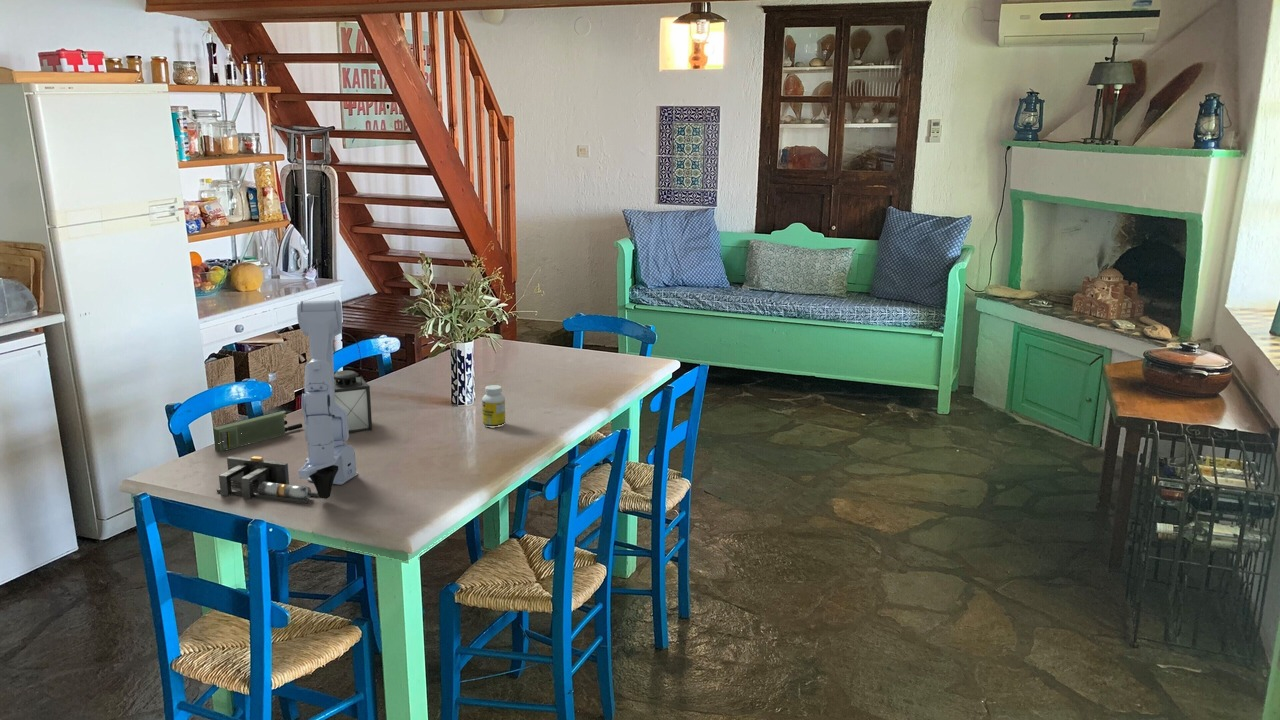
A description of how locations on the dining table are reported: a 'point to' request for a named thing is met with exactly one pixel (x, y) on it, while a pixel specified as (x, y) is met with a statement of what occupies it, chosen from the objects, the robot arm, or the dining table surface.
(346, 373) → the lantern
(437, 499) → the dining table surface
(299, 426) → the handheld radio
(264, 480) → the collar fixture
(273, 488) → the tube
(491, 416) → the pill bottle
